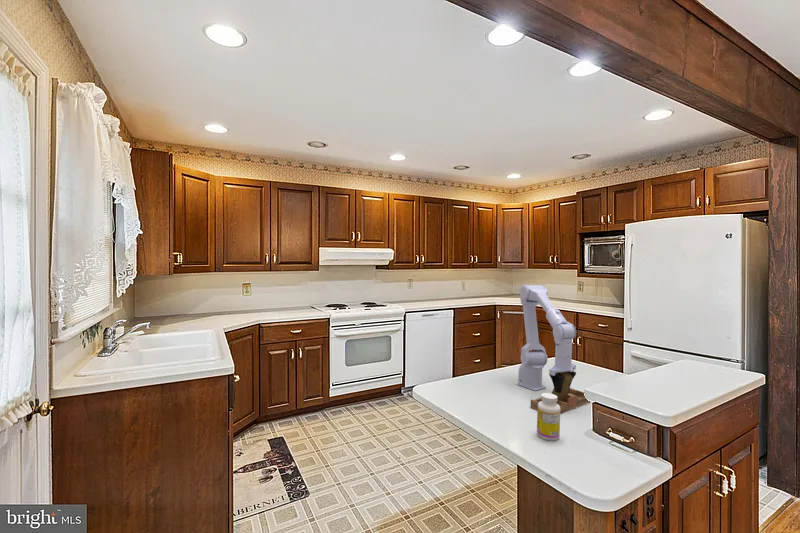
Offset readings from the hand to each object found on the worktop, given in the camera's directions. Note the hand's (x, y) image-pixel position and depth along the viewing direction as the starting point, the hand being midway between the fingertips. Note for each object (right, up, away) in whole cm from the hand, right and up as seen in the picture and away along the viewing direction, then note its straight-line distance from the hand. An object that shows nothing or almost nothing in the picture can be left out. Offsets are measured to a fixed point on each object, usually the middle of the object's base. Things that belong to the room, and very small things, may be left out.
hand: (561, 390), depth 139 cm
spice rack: (0, -5, 0) cm, 5 cm away
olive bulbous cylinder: (-1, -4, +1) cm, 4 cm away
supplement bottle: (-15, -6, -25) cm, 30 cm away
